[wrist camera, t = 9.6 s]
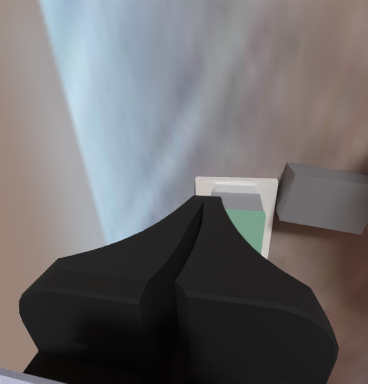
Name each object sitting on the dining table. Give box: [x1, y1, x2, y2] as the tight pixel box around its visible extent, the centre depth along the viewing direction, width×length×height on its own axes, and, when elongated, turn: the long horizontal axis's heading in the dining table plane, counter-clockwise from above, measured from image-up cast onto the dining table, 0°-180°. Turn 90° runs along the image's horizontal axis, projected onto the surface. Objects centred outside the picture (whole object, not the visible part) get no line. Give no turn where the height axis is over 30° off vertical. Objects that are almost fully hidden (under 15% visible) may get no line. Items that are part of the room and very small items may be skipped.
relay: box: [275, 163, 368, 235], centre depth 18 cm, size 6×4×3 cm, turn 84°
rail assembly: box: [195, 177, 278, 259], centre depth 21 cm, size 7×15×5 cm, turn 2°
